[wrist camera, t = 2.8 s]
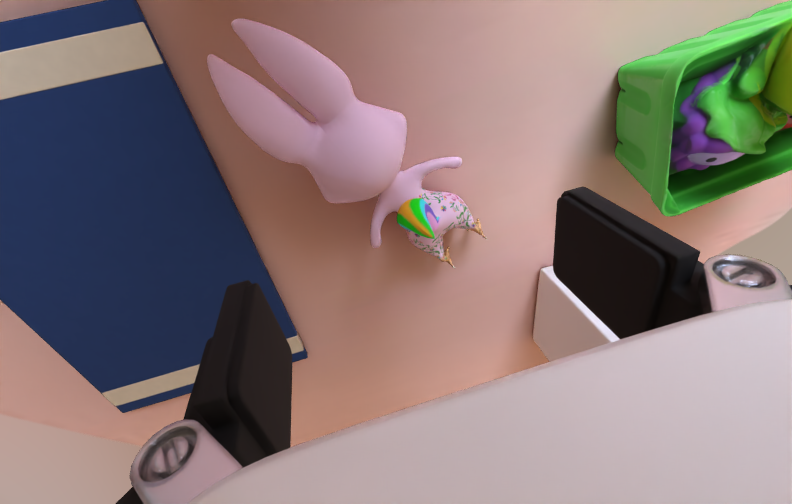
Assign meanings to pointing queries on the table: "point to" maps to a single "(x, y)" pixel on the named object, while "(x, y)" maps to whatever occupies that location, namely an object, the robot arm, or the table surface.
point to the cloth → (114, 205)
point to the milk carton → (565, 320)
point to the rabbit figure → (337, 137)
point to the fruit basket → (709, 112)
